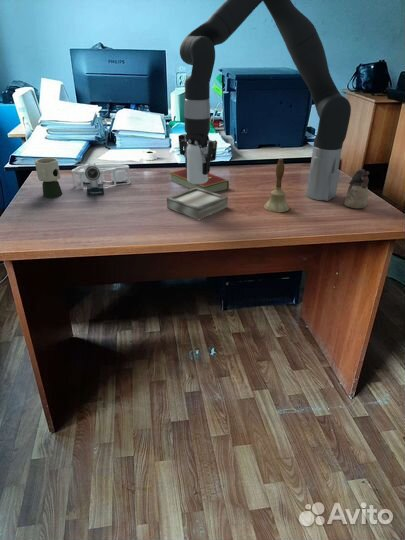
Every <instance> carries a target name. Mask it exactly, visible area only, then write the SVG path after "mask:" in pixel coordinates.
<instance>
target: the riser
mask: <svg viewBox="0 0 405 540" xmlns="http://www.w3.org/2000/svg"><path fill="white" fill-rule="evenodd" d="M228 198H229V197H228V196H227V195H223V194H219V193H216V192H210V191H207V190H204V189H200V188H197V187H195V188H193V189H187V190H185V191H182V192H179V193H176V194H173V195H171V196H169V197H166V208H168V209H171V210H172V211H175V212H178V213H180V214H182V215H185V216H187V215H188V216H187V217H190V216H191V217H190V218H192V217H193V218H192V219H195V218H196V219H195V220H197V219H200V220H202V219H204V217H205V218H206V216H207V217H209V216H211V215H214V214H216V213H218V212H220V211H223V210H224V209H226V208H228V204H229V203H228V200H229V199H228ZM213 213H214V214H213ZM208 215H209V216H208ZM201 218H202V219H201Z"/></svg>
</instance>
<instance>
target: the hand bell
mask: <svg viewBox="0 0 405 540" xmlns="http://www.w3.org/2000/svg"><path fill="white" fill-rule="evenodd" d="M284 173H285V163H284V159H283V158H279V159H278V161H277V164H276V167H275V176H276V184H275V189H273V190H271V192H270V196H269V199H268V201H267V202H266V203H265V204H264V205H263V207H264V210H266V211H268V212H270V213H271V212H272V213H285V212H288V211H289V210H290V205H289V204H288V203H287V200H286V192H285V191H284V190H282V182H283V181H282V179H283V176H284Z"/></svg>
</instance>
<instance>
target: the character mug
mask: <svg viewBox="0 0 405 540" xmlns="http://www.w3.org/2000/svg"><path fill="white" fill-rule="evenodd" d="M34 164H35V170H36V173H37V179H38V181H39V182H42V195H43V197H44V198H46V199H56V198H59V197H61V196H62V194H63V191H62V187H61V185H60V183H59V181H58V180H60V179H61V173H60V167H59V161H58V159H57V158H56V157H42V158H38V159H35V160H34Z"/></svg>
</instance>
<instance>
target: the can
mask: <svg viewBox="0 0 405 540" xmlns="http://www.w3.org/2000/svg"><path fill="white" fill-rule="evenodd" d="M187 144H188V147H187V181H188V182H189V183H190V184H195V185H200V184H205V183H206V182H207V181H208V174H206V175H204V174H203V160H202V156H201V155H200V149H199V146H201V145H199V146H198V145H195V144H189V143H188V142H187ZM201 149H202V151H203V152H205V151H207V147H204V148H202V147H201ZM205 157H206V158H207V154H205Z"/></svg>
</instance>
